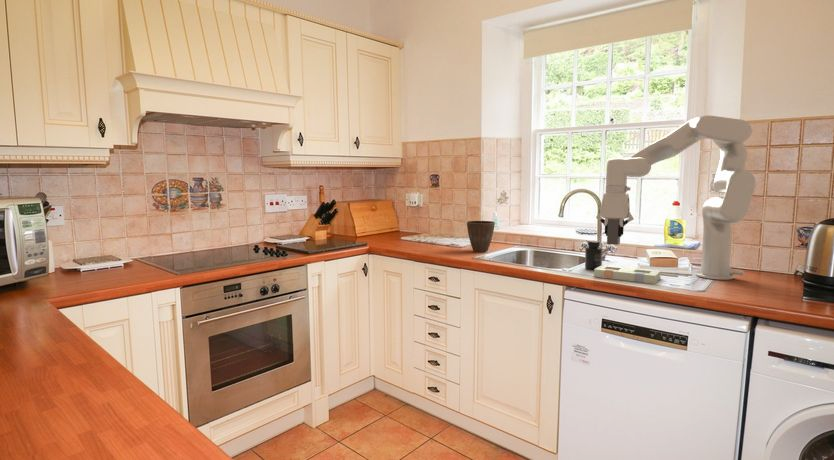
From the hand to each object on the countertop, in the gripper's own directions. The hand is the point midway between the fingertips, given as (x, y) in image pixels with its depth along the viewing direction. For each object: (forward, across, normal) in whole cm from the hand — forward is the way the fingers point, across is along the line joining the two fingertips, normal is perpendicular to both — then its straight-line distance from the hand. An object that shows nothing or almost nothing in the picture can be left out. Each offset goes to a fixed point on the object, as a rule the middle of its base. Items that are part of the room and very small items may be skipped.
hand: (613, 235), depth 188 cm
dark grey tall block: (+3, 0, 0) cm, 3 cm away
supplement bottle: (+16, +10, -11) cm, 22 cm away
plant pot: (+17, +73, -26) cm, 80 cm away
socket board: (+16, -6, 0) cm, 17 cm away
